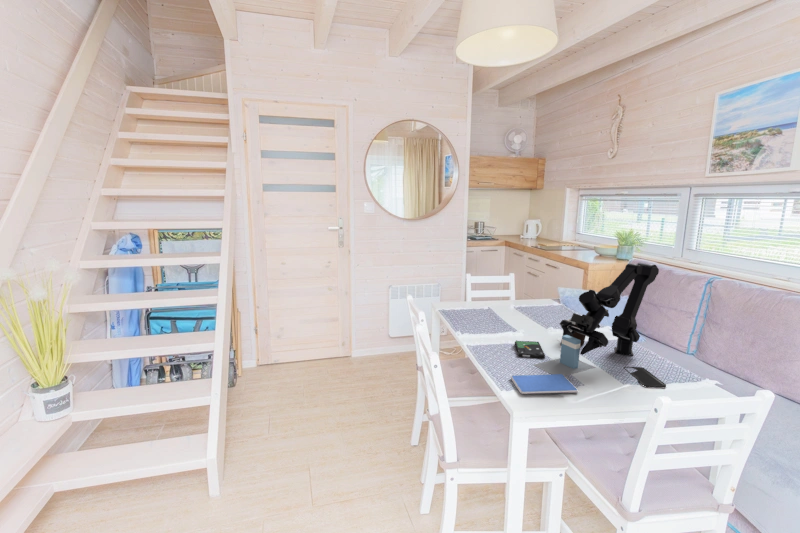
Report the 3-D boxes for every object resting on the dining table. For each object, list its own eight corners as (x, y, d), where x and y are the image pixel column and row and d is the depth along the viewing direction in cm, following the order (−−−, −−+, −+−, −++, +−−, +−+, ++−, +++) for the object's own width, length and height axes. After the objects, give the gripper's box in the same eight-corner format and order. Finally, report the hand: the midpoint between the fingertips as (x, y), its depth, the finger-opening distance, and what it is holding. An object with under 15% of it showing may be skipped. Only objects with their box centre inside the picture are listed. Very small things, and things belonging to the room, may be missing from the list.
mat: (569, 357, 161) (569, 355, 161) (595, 368, 150) (595, 367, 150) (533, 366, 152) (533, 364, 152) (557, 379, 141) (557, 377, 141)
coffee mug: (588, 347, 171) (590, 325, 169) (567, 345, 173) (569, 324, 171) (582, 338, 182) (584, 317, 181) (562, 336, 184) (564, 316, 182)
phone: (642, 367, 150) (667, 385, 136) (642, 369, 151) (667, 388, 136) (621, 366, 151) (644, 385, 136) (621, 369, 151) (644, 388, 136)
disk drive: (545, 361, 158) (538, 347, 172) (545, 355, 157) (538, 341, 172) (518, 359, 159) (513, 345, 174) (519, 353, 159) (514, 339, 173)
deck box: (564, 361, 155) (566, 334, 153) (578, 367, 150) (580, 340, 148) (559, 362, 154) (562, 335, 152) (573, 368, 149) (575, 341, 147)
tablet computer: (562, 376, 142) (563, 373, 142) (579, 393, 130) (579, 390, 129) (509, 378, 142) (509, 375, 141) (521, 396, 129) (521, 392, 129)
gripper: (564, 300, 159) (542, 330, 156) (606, 312, 142) (582, 346, 139) (576, 316, 163) (555, 345, 161) (618, 330, 147) (595, 363, 144)
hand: (571, 349), depth 151 cm, fingers open, 9 cm apart
